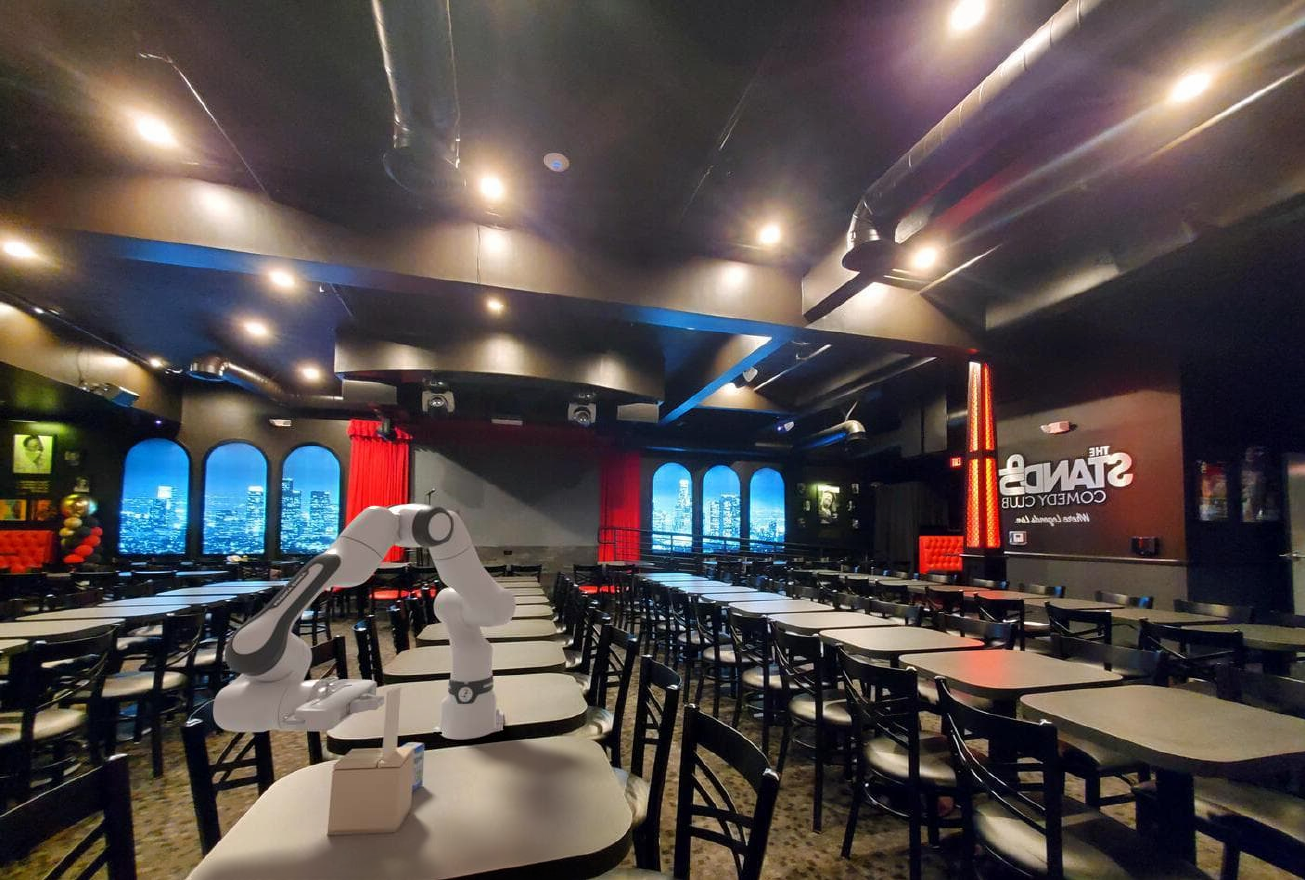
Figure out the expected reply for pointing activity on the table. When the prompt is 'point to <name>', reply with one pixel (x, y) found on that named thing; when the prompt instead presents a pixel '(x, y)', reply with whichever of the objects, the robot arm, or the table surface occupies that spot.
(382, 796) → the carton
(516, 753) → the table surface
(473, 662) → the robot arm
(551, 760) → the table surface
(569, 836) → the table surface
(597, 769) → the table surface
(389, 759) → the flap
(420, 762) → the medicine box
